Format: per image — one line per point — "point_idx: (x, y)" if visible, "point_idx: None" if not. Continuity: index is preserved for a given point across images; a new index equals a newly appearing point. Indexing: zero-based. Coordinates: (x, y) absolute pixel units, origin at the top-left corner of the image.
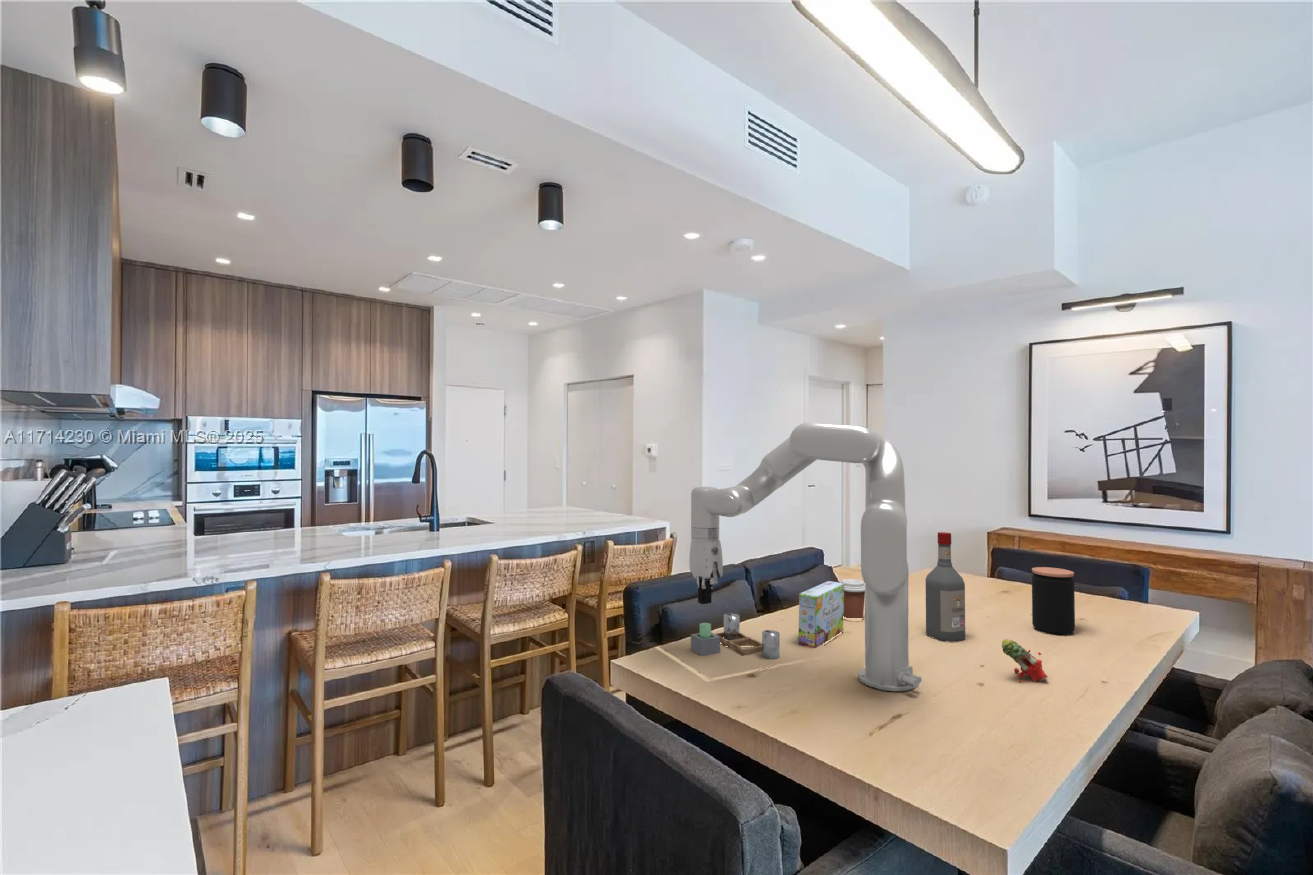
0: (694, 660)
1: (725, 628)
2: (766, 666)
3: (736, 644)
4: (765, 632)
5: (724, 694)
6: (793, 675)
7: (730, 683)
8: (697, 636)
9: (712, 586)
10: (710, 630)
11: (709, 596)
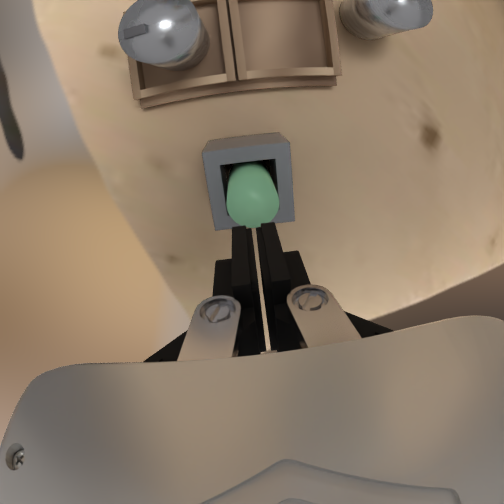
0: None
1: (176, 65)
2: (400, 61)
3: (279, 68)
4: (396, 9)
5: (459, 242)
6: (462, 54)
7: (437, 206)
8: None
9: (332, 298)
10: (270, 180)
11: (302, 268)
